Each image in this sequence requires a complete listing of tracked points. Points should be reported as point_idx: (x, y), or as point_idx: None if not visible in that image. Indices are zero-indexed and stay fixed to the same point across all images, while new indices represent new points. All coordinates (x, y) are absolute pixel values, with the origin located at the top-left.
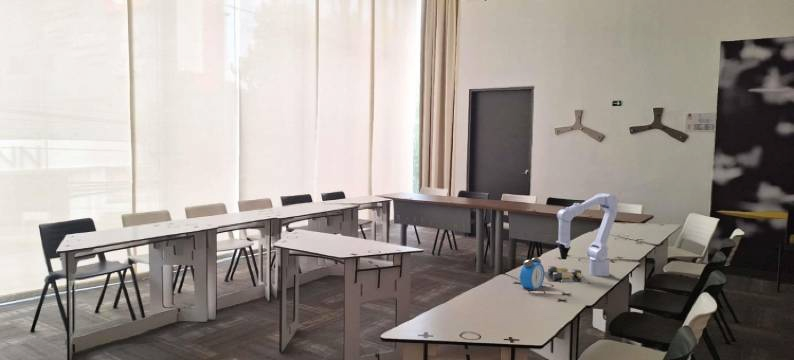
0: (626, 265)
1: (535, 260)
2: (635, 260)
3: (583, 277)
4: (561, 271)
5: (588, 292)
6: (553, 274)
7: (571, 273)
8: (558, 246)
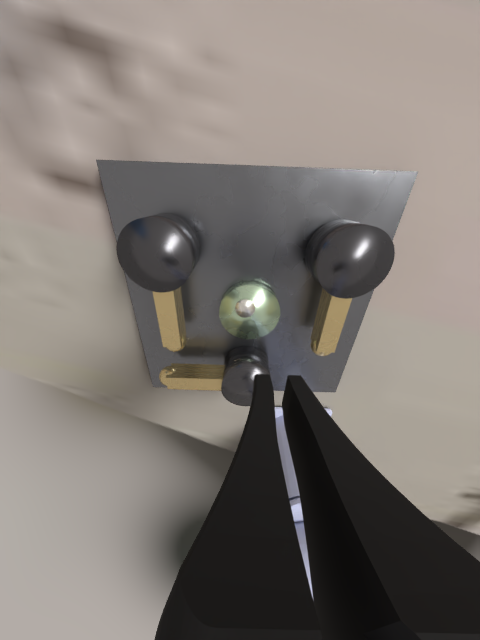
0: None
1: None
2: (454, 526)
3: None
4: (317, 314)
5: (23, 344)
6: (142, 218)
7: (322, 358)
8: (408, 583)
